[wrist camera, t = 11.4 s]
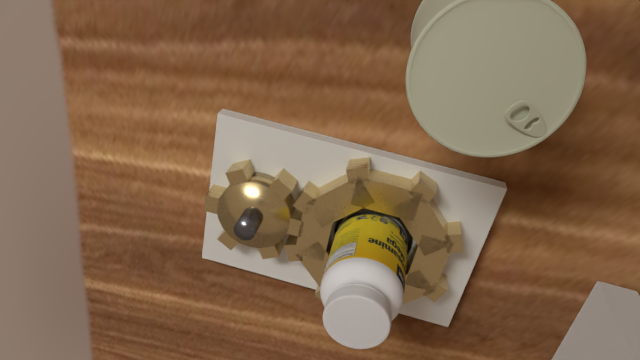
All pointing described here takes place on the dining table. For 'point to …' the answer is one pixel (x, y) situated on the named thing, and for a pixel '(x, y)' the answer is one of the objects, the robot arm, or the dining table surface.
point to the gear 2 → (385, 197)
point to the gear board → (325, 166)
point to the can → (493, 73)
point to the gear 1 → (255, 209)
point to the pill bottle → (364, 279)
